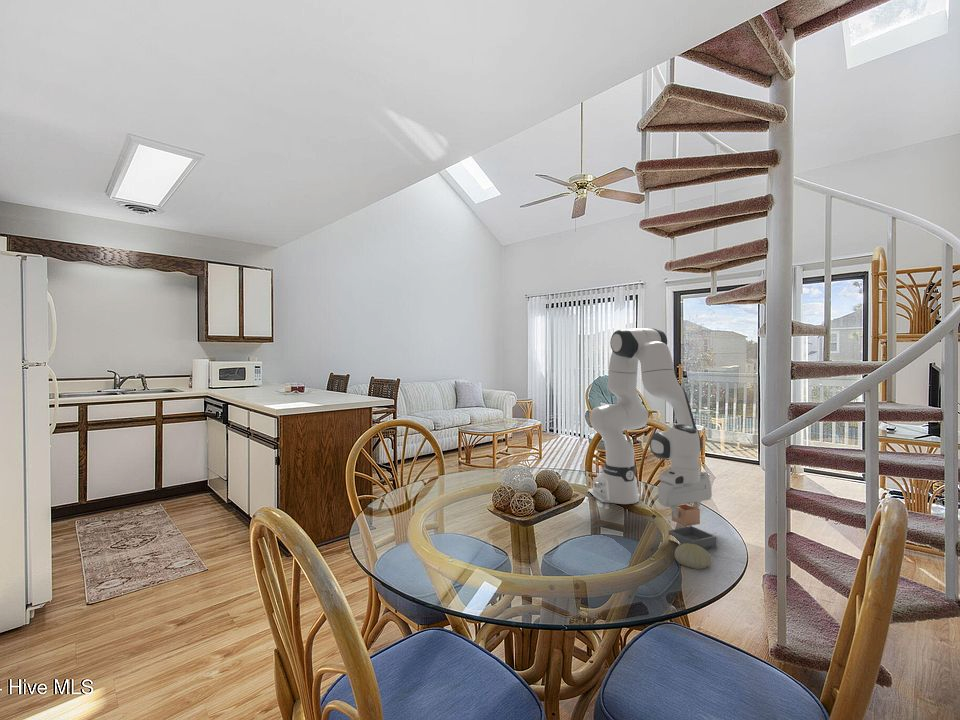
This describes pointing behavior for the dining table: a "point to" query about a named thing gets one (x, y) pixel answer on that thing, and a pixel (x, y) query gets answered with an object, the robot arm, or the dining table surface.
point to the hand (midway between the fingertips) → (685, 515)
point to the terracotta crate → (687, 515)
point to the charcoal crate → (694, 537)
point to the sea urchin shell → (692, 556)
